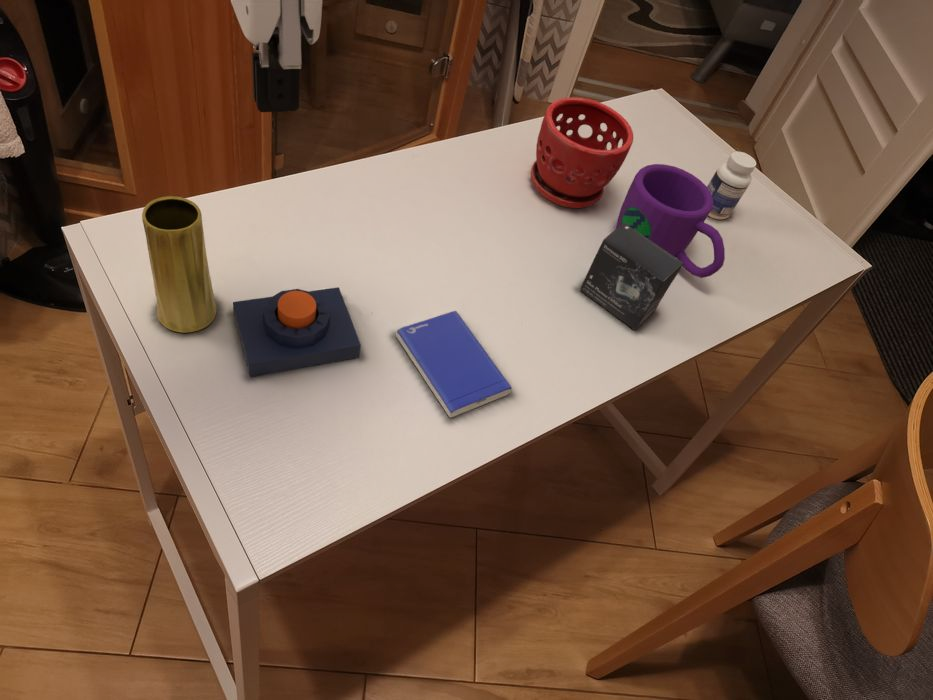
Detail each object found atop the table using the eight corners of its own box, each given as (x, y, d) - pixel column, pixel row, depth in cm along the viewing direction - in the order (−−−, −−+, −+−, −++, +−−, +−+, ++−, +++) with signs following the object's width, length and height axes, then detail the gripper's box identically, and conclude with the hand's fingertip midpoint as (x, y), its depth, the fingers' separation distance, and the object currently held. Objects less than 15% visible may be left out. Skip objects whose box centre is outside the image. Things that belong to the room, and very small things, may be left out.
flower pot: (507, 172, 105) (528, 102, 96) (571, 157, 111) (596, 90, 102) (557, 226, 99) (584, 157, 90) (622, 207, 106) (653, 141, 96)
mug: (594, 227, 101) (619, 172, 93) (645, 209, 106) (673, 155, 99) (676, 307, 93) (711, 253, 86) (727, 283, 99) (763, 230, 91)
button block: (249, 377, 72) (248, 353, 69) (233, 314, 77) (231, 290, 74) (359, 357, 77) (362, 334, 74) (337, 299, 82) (339, 276, 79)
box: (577, 290, 91) (602, 237, 84) (599, 272, 95) (625, 220, 87) (633, 332, 89) (664, 281, 81) (654, 312, 92) (686, 261, 85)
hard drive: (397, 328, 79) (451, 410, 73) (456, 309, 82) (513, 386, 77) (395, 337, 80) (448, 419, 74) (454, 317, 84) (509, 394, 78)
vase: (225, 323, 76) (215, 225, 65) (169, 340, 73) (149, 241, 62) (204, 286, 79) (191, 187, 68) (149, 302, 76) (127, 200, 65)
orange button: (282, 331, 72) (282, 320, 71) (274, 304, 75) (274, 293, 73) (319, 325, 74) (320, 315, 73) (310, 299, 76) (311, 288, 75)
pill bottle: (699, 194, 112) (728, 143, 105) (730, 206, 112) (762, 157, 104) (695, 212, 109) (725, 161, 101) (727, 225, 108) (759, 174, 101)
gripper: (187, -221, 43) (210, 56, 57) (231, -129, 35) (246, 167, 49) (306, -204, 46) (300, 55, 60) (371, -116, 38) (348, 160, 52)
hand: (276, 105), depth 54 cm, fingers closed
